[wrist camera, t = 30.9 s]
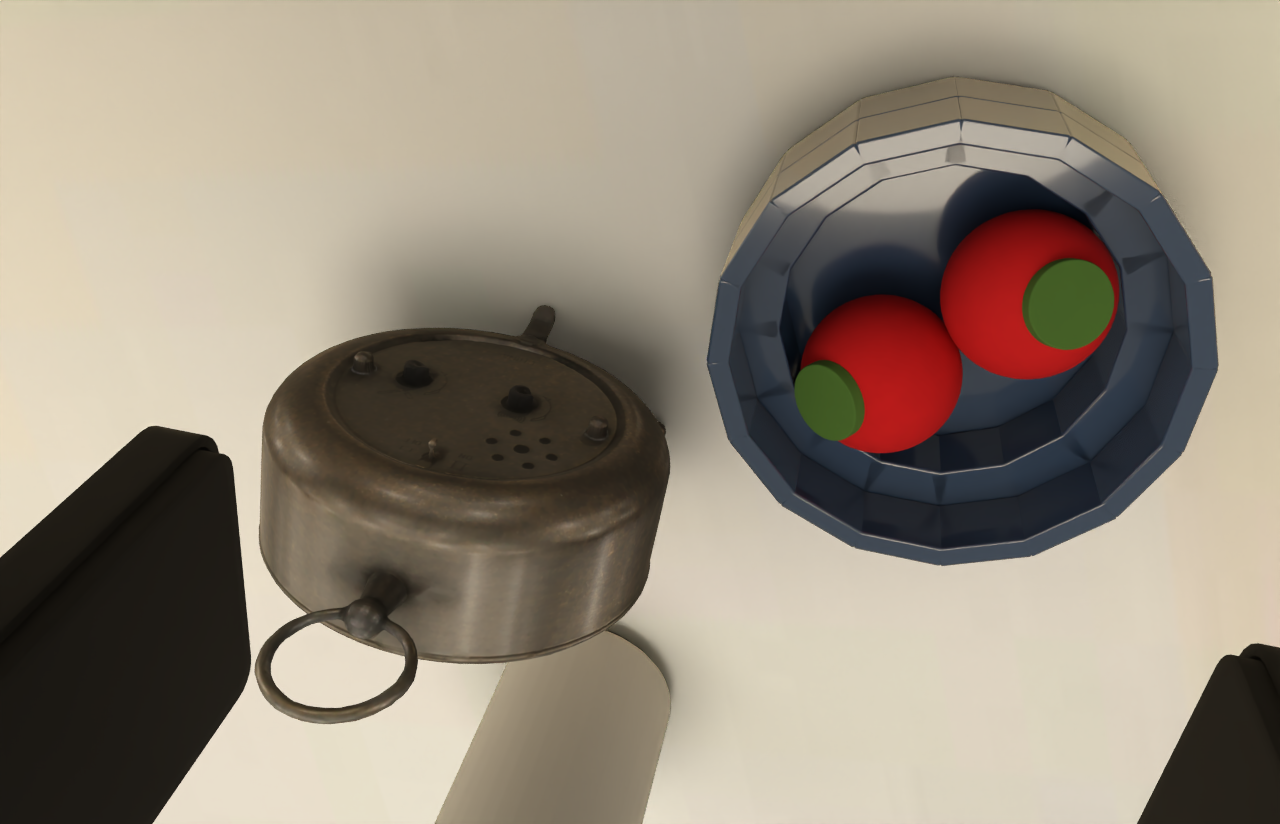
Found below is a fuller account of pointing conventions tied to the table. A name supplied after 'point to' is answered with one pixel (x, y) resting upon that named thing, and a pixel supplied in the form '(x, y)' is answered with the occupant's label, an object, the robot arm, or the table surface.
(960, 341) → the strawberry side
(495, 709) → the beverage can
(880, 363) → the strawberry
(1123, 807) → the table surface
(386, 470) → the alarm clock
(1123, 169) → the bowl
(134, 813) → the robot arm
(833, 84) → the table surface
